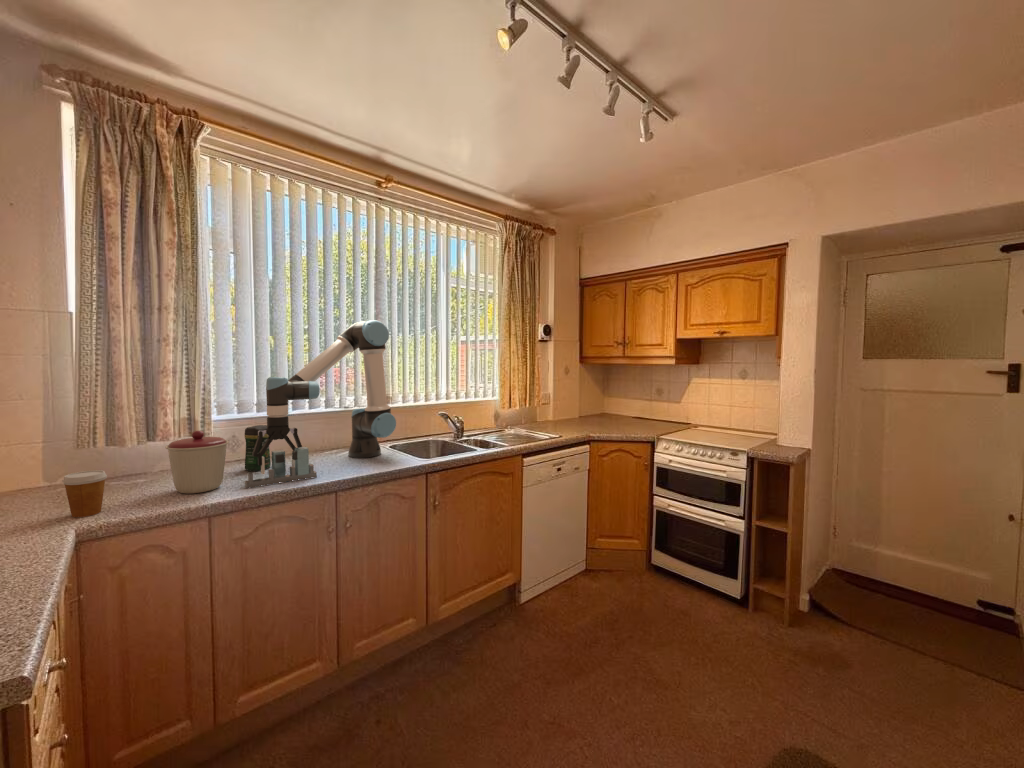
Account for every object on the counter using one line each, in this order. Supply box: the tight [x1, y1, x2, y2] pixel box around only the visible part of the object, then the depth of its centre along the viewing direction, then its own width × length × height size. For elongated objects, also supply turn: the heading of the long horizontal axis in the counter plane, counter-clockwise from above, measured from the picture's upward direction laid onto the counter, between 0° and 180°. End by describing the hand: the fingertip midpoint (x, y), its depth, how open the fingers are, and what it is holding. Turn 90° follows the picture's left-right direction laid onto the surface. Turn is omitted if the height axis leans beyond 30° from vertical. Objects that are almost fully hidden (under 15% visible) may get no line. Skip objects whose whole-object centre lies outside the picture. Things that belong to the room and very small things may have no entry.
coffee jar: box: [243, 424, 272, 472], centre depth 184 cm, size 10×8×19 cm
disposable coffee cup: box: [61, 469, 108, 518], centre depth 129 cm, size 10×10×12 cm
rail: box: [244, 446, 318, 489], centre depth 165 cm, size 24×4×12 cm, turn 130°
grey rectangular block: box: [271, 449, 287, 477], centre depth 172 cm, size 5×4×10 cm
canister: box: [165, 430, 230, 494], centre depth 153 cm, size 18×18×21 cm
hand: (278, 471), depth 173 cm, fingers open, 10 cm apart
